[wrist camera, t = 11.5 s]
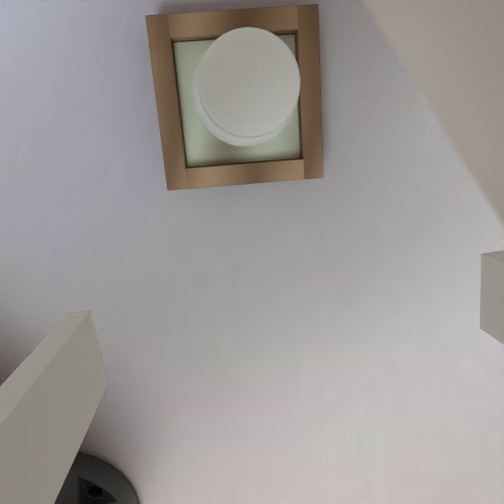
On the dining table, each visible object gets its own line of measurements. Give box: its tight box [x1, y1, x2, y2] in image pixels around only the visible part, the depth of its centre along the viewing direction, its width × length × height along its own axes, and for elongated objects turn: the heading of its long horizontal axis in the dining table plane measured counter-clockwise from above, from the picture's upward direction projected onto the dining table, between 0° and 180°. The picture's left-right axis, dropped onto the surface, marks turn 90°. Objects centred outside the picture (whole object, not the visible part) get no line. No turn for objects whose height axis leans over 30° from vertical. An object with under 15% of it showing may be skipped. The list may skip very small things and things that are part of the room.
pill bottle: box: [192, 27, 300, 147], centre depth 26 cm, size 6×6×11 cm
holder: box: [145, 4, 323, 190], centre depth 32 cm, size 12×12×3 cm
